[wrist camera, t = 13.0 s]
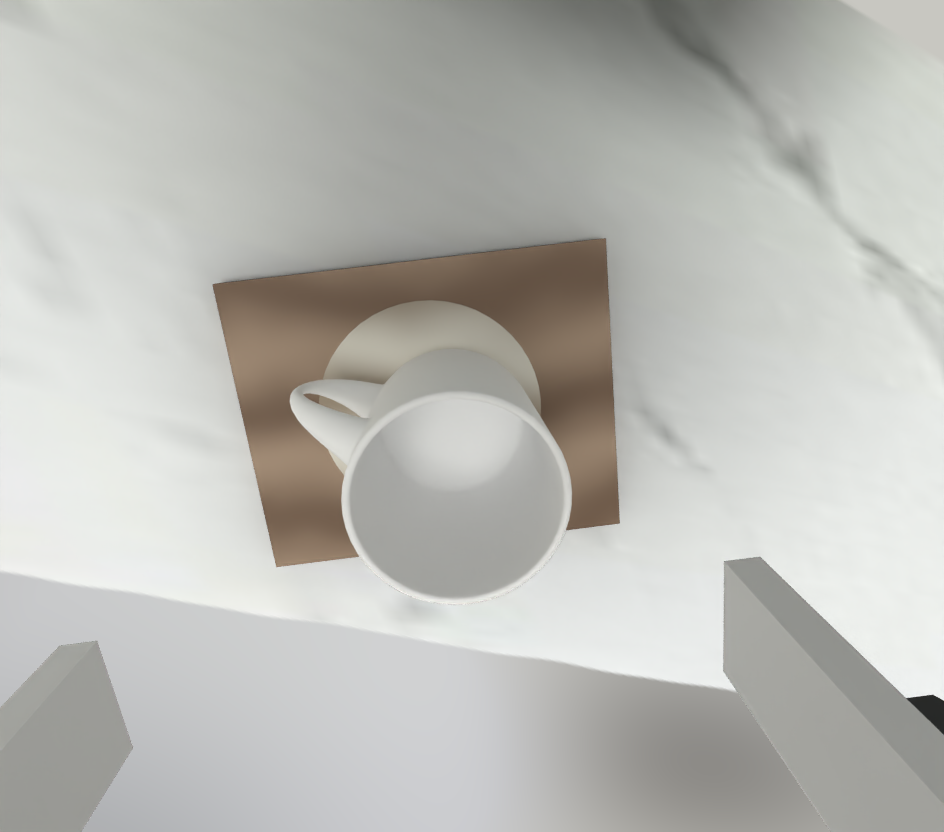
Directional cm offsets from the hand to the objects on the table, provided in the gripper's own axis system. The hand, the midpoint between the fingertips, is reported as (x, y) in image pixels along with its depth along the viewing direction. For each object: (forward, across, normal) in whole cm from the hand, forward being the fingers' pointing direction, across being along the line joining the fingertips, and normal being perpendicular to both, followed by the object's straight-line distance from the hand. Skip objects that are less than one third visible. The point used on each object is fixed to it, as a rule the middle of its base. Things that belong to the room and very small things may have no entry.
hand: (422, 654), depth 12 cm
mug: (+20, -1, 0) cm, 21 cm away
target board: (+22, 0, 0) cm, 22 cm away
